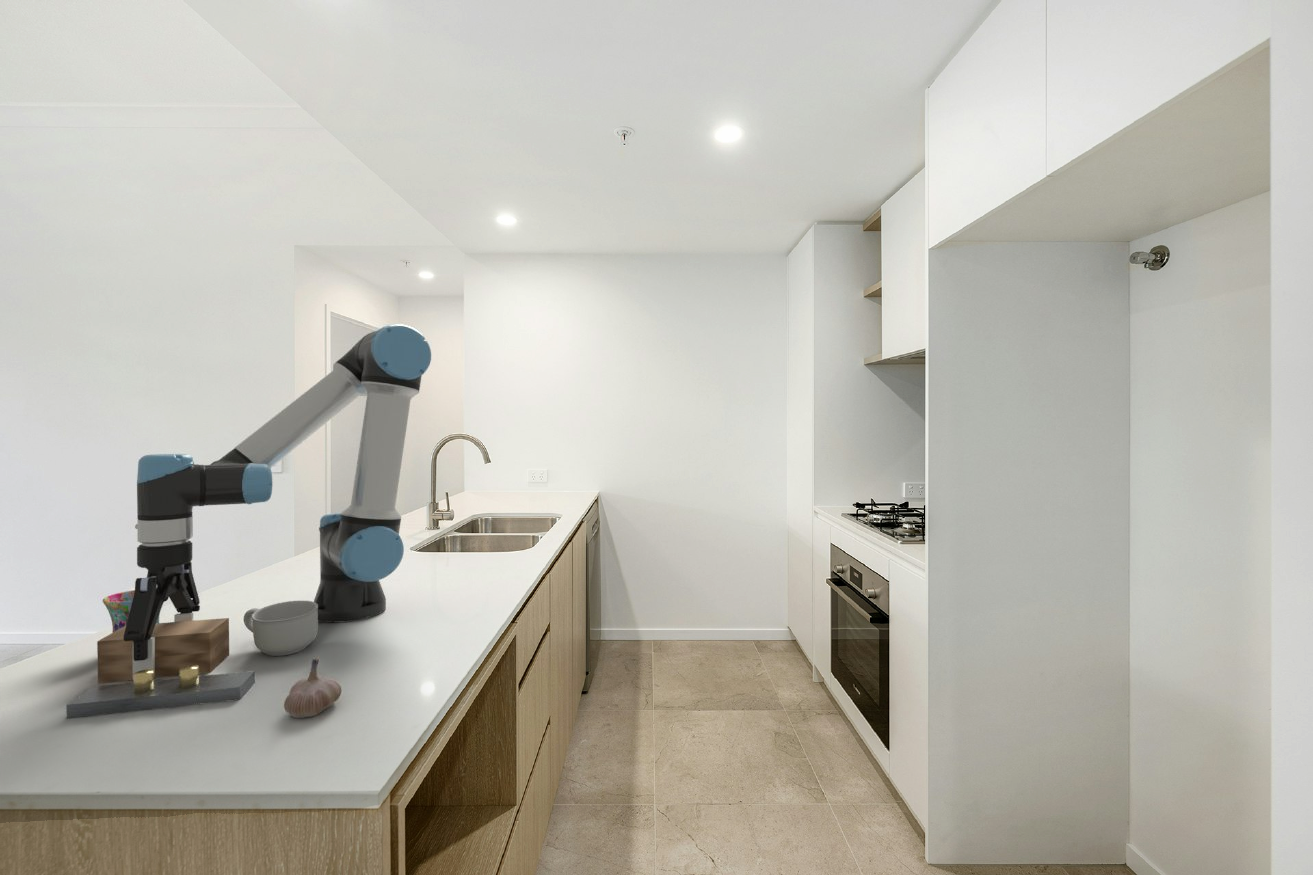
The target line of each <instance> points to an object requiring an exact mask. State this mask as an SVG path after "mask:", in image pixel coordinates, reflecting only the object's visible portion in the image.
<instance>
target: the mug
mask: <svg viewBox="0 0 1313 875" xmlns="http://www.w3.org/2000/svg"><path fill="white" fill-rule="evenodd" d="M134 593H135V589H134V590H133V589H132V590H127V591H123V592H117V593H114V594H111V595H108V596H106V597H104V598H103V599H102V603H103V604H104V606H105V607H106V610H107V611H108V614H109V616H110V619H111V625H112V631H111V632H112V633H113V632H115V631H117V630H119V629H120V628H122V627H124V626H126V625H127V621H128V617H129V613H130V609H131V605H132V601H133V597H134ZM156 623H160V614H159V616H158V619H157V622H156Z"/></svg>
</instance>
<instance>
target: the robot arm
mask: <svg viewBox="0 0 1313 875" xmlns="http://www.w3.org/2000/svg"><path fill="white" fill-rule="evenodd" d="M431 350H432V349H431V347H430V344H429V342H428V340H427V339H426V338H425V336H424V335H423V334H422V333H421V332H420V331H419V330H417V329H415V328H414V327H412V326H409V325H405V324H391V325H390V324H388V325H385V326H383V327H381V328H379V329H378V330H375V331H371V332H369V333H367V334H366V335H364V336H363V337H362V338H360V339H359V340H358V341H357V342H356V343H355V344H354V345H353V347H351V349H349V350H348V351H347V352H346V353H344V355H343V356H342V357H340V358H339V359H338V360H336V361H335V362H334V363H333V365H332V371H330V372H329V373H328V374H327V375H326V376H324V377H323V378H322V379H320V380H319V381H318V382H317V383H315V384H314V385H312V387H310V388H309V389H308V390H306V391H305V392H304V393H303V394H301V395H299V397H297V398H296V399H295V400H294V401H292V402H291V403H290V404H289V405H287V406H285V408H283V409H282V410H281V411H279V412H278V413H277V414H276V415H275V416H273V417H272V418H271V419H269V420H268V421H267V422H265V423H264V424H263V425H262V426H260V427H259V428H258V429H257V430H255V431H254V432H253V433H251V434H250V435H249V436H247V438H245V439H244V440H243V441H241V442H240V443H238V445H236V446H234V448H233V449H231V450H230V451H229V452H227V453H226V454H225V455H223V456H222V457H221V458H220V459H217V460H215V461H213V462H211V463H210V464H196V463H195V461H194V459H193V458H194V457H193V456H192V455H191V454H187V453H156V454H155V453H154V454H153V453H152V454H145V455H142V457H141V458H139V459H138V462H137V463H138V464H137V474H136V498H137V499H136V501H137V502H136V504H137V510H136V511H137V518H136V520H137V523H136V524H135V526H134V528H135V529H136V531H137V535H136V536H137V542H138V543H140V545H138V546H137V547H136V565H137V567H139V568H141V569H146V570H147V575H146V577H138V578H136V579H135V583H134V584H135V585H134V590H135V593H134V597H133V601H132V605H131V609H130V613H129V617H128V621H127V625H126V629H125V633H124V637H123V639H124V641H133V674H134V673H136V672H138V671H141V670H146V669H153V670H154V676H155V637H151V636H152V633H153V630H154V627H155V625H156V622H157V619H158V616H159V617H160V615H159V614H160V613H161V611H162V608H163V605H164V603H165V602H167V601H168V600H169V599H170V601H171V603H172V605H173V607H174V609H175V610H176V612H177V613H175V614H174V619H173V622H182V621H194V612H199V611H200V609H201V606H200V602H201V601H200V596H199V594H198V590H197V586H196V583H195V578H194V574H193V567H192V564H193V563H192V560H193V542H192V541H191V540H190V539H192V538H193V537H194V526H193V524H194V523H193V522H194V521H193V520H194V519H193V508H194V507H205V506H221V505H222V506H224V505H225V506H226V505H245V504H247V505H252V504H256V503H257V504H258V503H266V502H268V501H269V500H271V497H272V493H273V473H272V468H274V466H275V465H277V464H278V463H279V462H280V461H281V460H283V459H284V458H285V457H286V456H288V455H289V454H290V453H291V452H292V451H293V450H294V449H295V450H296V448H297V447H298V446H300V445H301V444H302V443H303V442H305V441H306V440H307V439H308V438H309V437H311V436H312V435H313V434H314V433H315V432H317V431H318V430H319V429H320V428H322V427H323V426H324V425H326V424H327V423H328V422H329V421H330V420H331V419H333V418H334V417H335V416H336V415H337V414H339V413H340V412H341V411H342V410H344V408H347V406H349V405H350V404H351V403H352V402H353V401H355V400H356V399H357V398H358V397H366V400H365V401H366V402H365V408H364V415H363V419H362V420H363V421H362V427H361V436H360V441H359V448H358V454H357V462H356V466H355V467H356V469H355V475H354V482H353V489H352V495H351V501H350V505H349V506H348V507H346V508H345V509H344V510H343V511H341V512H339V513H329V514H324V515H323V516H321V517H320V520H319V521H320V522H319V528H318V531H319V566H320V568H319V569H320V570H319V571H320V572H319V574H320V581H319V586H318V588H317V590H316V594H315V595H314V600H313V602H315V603H317V604H318V609H317V611H318V622H321V623H344V622H345V623H346V622H352V621H359V620H363V619H368V618H370V617H374V616H376V615H378V614H381V613H382V612H384V611H385V610H386V609H387V599H386V595H385V592H384V590H383V587H382V585H381V580H383V579H385V578H387V577H388V576H390V575H391V574H392V573H394V571H395V570H396V569H397V568H398V567H399V566H400V564H401V562H402V559H403V558H404V551H405V550H404V549H405V547H404V543H403V542H404V541H403V540H402V538H401V535H400V529H401V521H402V516H401V514H400V513H399V512H398V511H397V509H396V503H397V498H398V490H399V483H400V476H401V468H402V462H403V455H404V448H405V441H406V440H405V439H406V434H407V429H408V428H407V427H408V420H409V419H408V418H409V413H410V407H411V400H412V398H414V397H416V395H418V394H420V388H421V383H422V377H423V375H424V374H425V373H426V372H427V370H428V368H429V367H430V365H431V361H432V351H431Z"/></svg>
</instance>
